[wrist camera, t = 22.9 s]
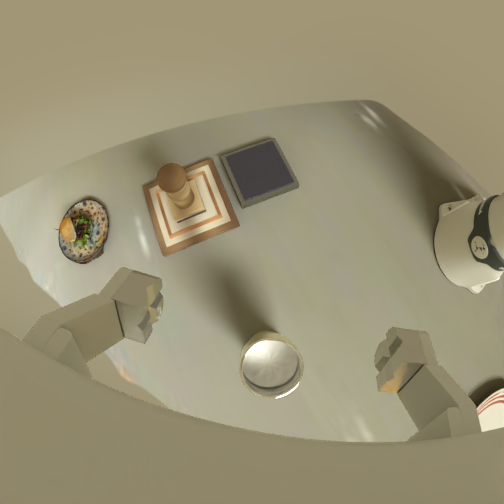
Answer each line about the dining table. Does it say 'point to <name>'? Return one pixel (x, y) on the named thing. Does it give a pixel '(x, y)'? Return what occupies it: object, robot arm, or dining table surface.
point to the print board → (197, 227)
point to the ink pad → (259, 172)
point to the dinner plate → (492, 411)
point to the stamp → (180, 192)
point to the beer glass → (270, 365)
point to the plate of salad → (84, 231)
